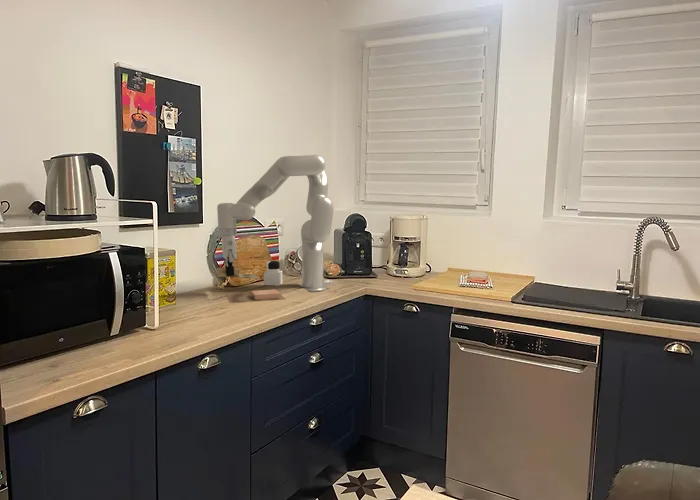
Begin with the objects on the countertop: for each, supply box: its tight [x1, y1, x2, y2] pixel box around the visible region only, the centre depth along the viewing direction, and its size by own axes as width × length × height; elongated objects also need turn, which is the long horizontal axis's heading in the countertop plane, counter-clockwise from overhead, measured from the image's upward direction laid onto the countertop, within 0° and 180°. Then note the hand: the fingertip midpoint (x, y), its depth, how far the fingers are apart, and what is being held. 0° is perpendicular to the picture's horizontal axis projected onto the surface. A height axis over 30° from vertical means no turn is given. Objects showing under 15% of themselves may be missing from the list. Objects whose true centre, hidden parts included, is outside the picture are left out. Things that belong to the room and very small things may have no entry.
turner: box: [216, 267, 259, 280], centre depth 224 cm, size 17×7×4 cm, turn 111°
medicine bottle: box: [263, 260, 283, 287], centre depth 241 cm, size 7×7×12 cm
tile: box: [251, 289, 281, 300], centre depth 213 cm, size 10×2×8 cm
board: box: [224, 292, 286, 304], centre depth 214 cm, size 22×16×2 cm
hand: (229, 274), depth 223 cm, fingers closed on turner, 2 cm apart
